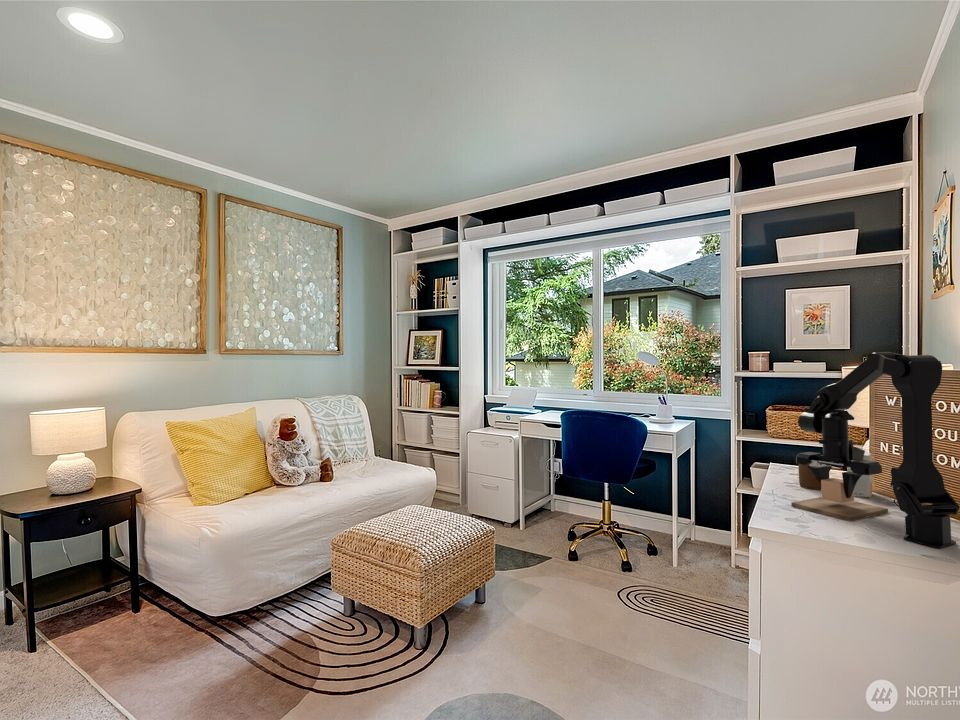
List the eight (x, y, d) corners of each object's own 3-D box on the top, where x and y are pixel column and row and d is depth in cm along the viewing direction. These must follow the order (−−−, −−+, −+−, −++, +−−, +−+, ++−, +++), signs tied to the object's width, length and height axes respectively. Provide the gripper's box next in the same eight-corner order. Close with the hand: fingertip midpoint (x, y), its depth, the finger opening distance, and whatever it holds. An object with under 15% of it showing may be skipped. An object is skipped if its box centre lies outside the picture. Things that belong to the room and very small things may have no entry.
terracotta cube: (854, 500, 132) (853, 481, 132) (841, 503, 130) (840, 483, 130) (834, 496, 137) (833, 477, 137) (821, 498, 135) (820, 479, 135)
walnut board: (888, 512, 129) (887, 508, 129) (849, 521, 124) (849, 516, 124) (828, 499, 143) (828, 495, 143) (791, 506, 138) (791, 502, 138)
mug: (836, 494, 148) (835, 461, 149) (806, 492, 151) (805, 461, 151) (824, 484, 160) (823, 454, 160) (796, 483, 162) (795, 454, 162)
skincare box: (870, 498, 143) (869, 455, 143) (852, 496, 146) (850, 454, 146) (873, 493, 147) (871, 452, 148) (855, 491, 150) (853, 451, 150)
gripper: (894, 437, 128) (897, 499, 128) (820, 430, 145) (822, 485, 145) (866, 441, 124) (868, 505, 124) (793, 433, 141) (795, 489, 141)
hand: (837, 495), depth 134 cm, fingers closed on terracotta cube, 5 cm apart
